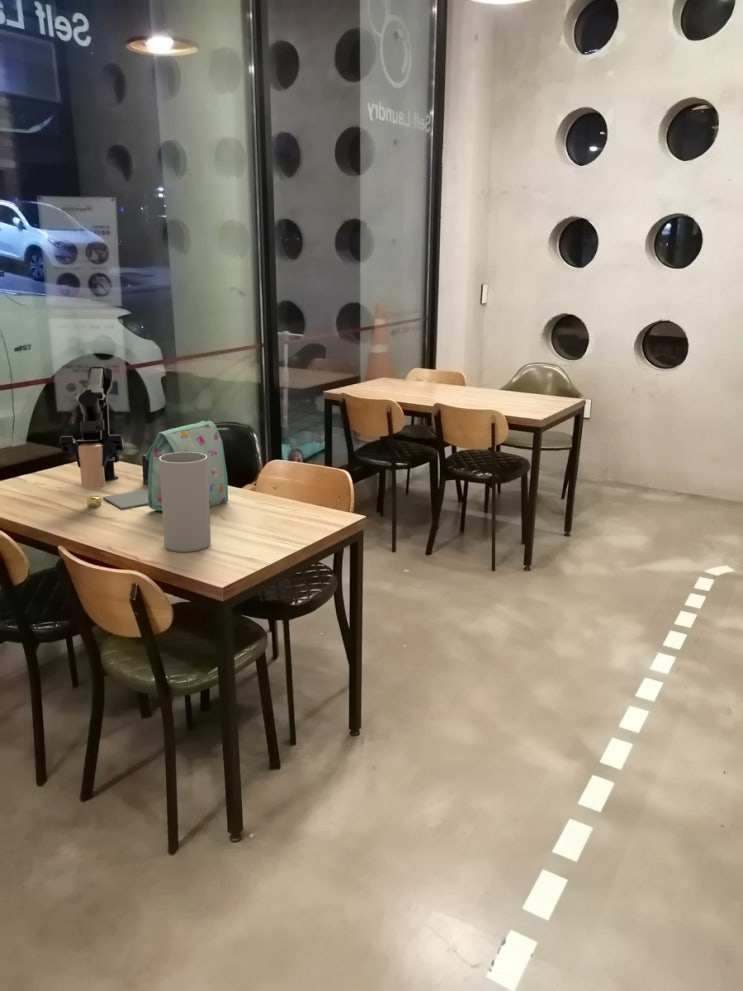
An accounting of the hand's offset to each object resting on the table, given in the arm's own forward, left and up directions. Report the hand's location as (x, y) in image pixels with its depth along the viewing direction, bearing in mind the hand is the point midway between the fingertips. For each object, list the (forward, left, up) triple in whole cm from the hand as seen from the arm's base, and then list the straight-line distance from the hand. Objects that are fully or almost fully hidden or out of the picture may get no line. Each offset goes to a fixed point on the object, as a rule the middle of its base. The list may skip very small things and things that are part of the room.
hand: (91, 466), depth 240 cm
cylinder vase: (+49, +7, -14) cm, 51 cm away
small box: (-17, +29, -14) cm, 37 cm away
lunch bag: (+17, +24, -14) cm, 33 cm away
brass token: (-1, 0, -14) cm, 14 cm away
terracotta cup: (-1, +1, -7) cm, 7 cm away
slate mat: (0, +13, -13) cm, 19 cm away
